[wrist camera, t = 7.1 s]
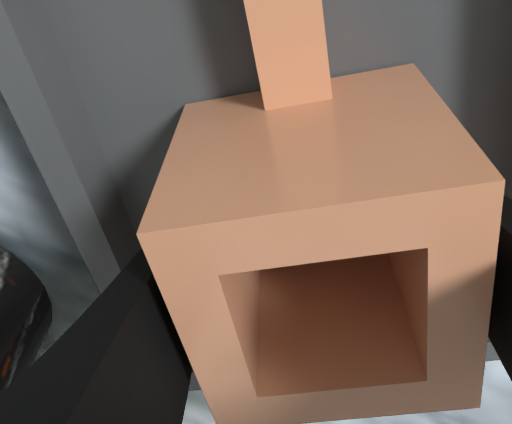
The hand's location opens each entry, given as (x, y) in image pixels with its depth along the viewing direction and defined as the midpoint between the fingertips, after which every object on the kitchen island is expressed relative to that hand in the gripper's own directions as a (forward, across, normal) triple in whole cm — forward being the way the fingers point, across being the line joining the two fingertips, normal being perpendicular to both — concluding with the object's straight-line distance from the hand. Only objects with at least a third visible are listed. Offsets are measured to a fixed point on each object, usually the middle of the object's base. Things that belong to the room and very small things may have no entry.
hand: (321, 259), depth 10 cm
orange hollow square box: (+3, 0, -2) cm, 4 cm away
